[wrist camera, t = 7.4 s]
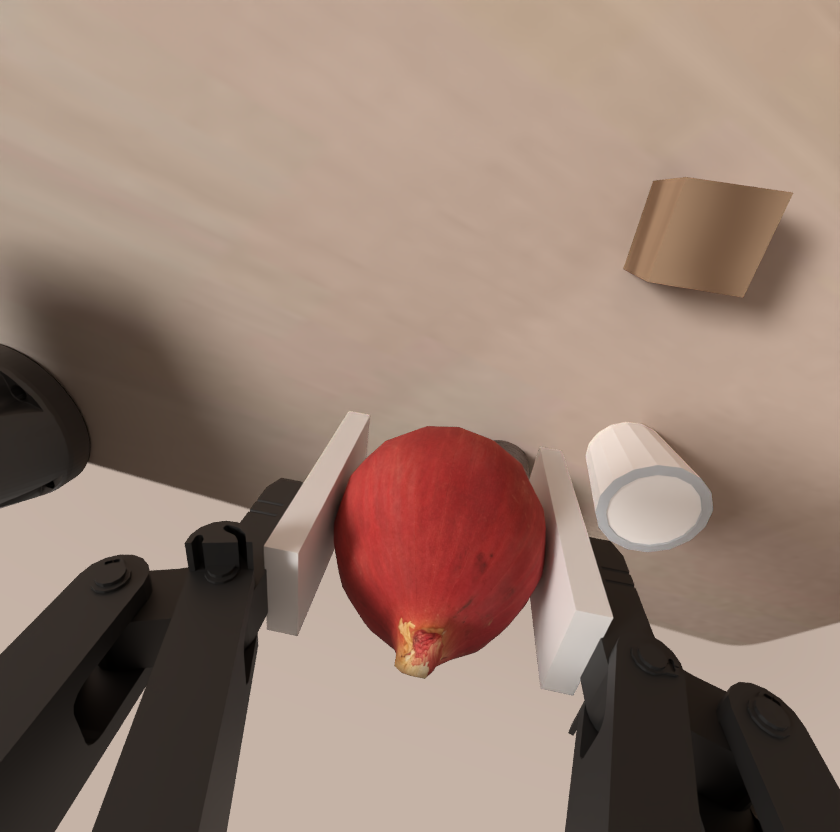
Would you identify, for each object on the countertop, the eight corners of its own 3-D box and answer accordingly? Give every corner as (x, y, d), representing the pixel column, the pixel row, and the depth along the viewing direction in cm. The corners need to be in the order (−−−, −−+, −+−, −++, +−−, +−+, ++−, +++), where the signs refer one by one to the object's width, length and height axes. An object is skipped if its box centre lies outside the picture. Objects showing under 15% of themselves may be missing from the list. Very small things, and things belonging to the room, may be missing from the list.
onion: (555, 499, 16) (613, 748, 9) (413, 540, 17) (365, 774, 10) (494, 358, 14) (505, 533, 7) (341, 420, 15) (219, 611, 8)
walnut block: (623, 268, 28) (647, 282, 23) (652, 180, 26) (686, 177, 21) (702, 281, 28) (743, 297, 23) (740, 193, 25) (793, 192, 21)
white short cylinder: (620, 504, 36) (647, 569, 29) (558, 456, 34) (572, 513, 28) (693, 451, 33) (740, 511, 26) (628, 396, 31) (660, 445, 25)
